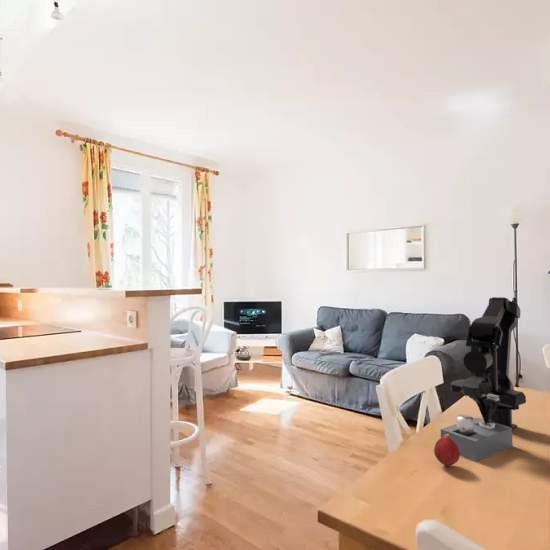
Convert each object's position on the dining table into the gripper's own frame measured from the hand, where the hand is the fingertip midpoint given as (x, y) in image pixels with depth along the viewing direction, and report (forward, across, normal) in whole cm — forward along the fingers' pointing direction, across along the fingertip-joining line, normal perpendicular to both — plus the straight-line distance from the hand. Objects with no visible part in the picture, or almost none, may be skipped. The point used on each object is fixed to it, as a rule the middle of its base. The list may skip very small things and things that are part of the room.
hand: (486, 422), depth 112 cm
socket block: (+6, 0, -5) cm, 8 cm away
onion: (+6, +3, -22) cm, 23 cm away
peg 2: (+5, 0, 0) cm, 5 cm away
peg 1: (+2, 0, -10) cm, 10 cm away
